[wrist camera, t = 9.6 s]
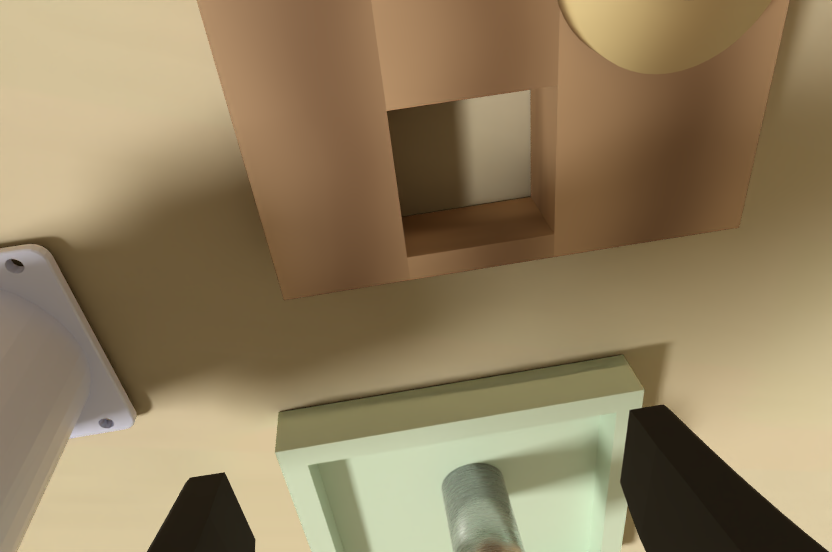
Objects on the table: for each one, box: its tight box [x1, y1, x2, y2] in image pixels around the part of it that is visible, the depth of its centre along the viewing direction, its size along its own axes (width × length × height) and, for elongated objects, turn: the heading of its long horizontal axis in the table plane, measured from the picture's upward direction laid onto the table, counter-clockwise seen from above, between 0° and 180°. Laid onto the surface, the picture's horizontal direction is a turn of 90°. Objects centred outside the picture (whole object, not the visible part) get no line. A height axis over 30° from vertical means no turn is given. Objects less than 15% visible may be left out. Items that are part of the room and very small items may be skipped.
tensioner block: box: [197, 0, 790, 300], centre depth 15 cm, size 14×12×4 cm
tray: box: [275, 355, 644, 552], centre depth 27 cm, size 14×14×2 cm
